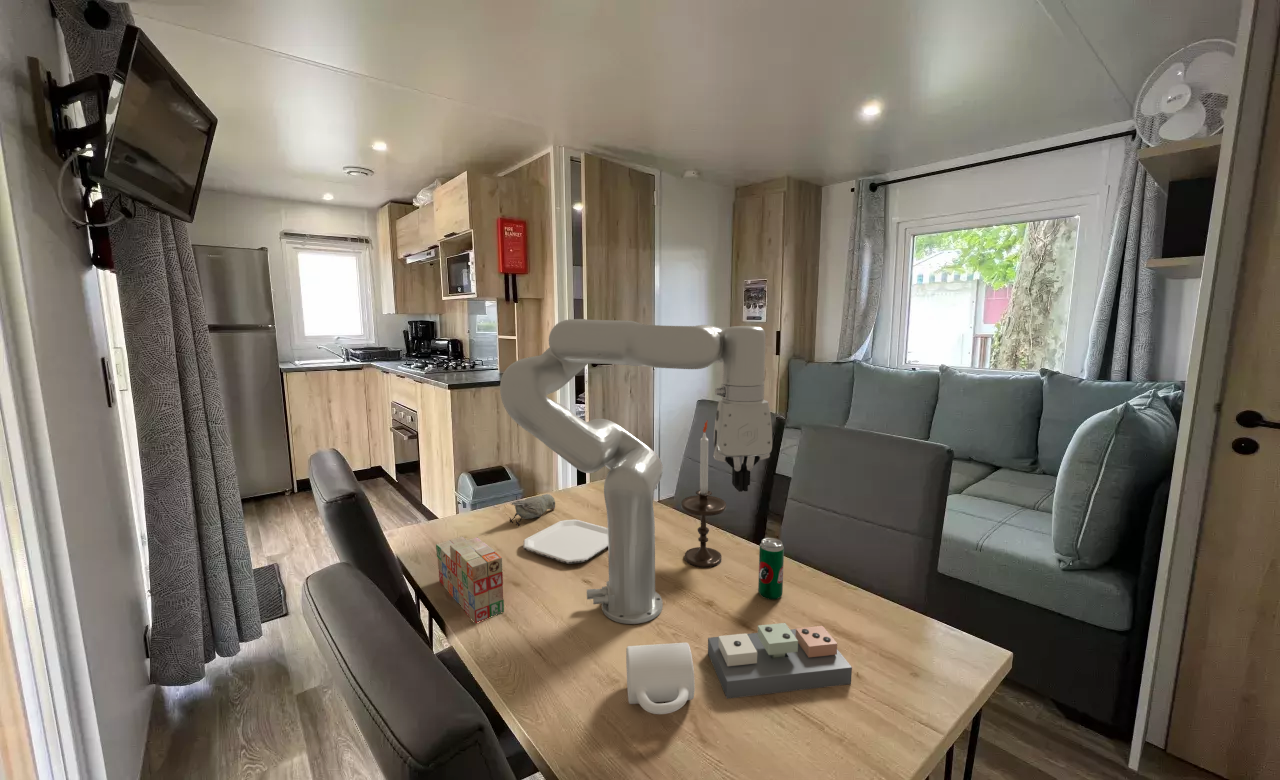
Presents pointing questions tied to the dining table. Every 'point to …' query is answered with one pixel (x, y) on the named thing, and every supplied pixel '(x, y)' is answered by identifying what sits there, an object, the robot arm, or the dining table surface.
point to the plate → (569, 541)
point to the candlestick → (703, 513)
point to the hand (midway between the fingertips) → (740, 489)
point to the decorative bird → (533, 507)
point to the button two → (777, 639)
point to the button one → (737, 649)
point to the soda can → (771, 568)
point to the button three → (816, 641)
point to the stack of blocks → (472, 576)
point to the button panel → (778, 671)
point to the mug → (660, 676)
